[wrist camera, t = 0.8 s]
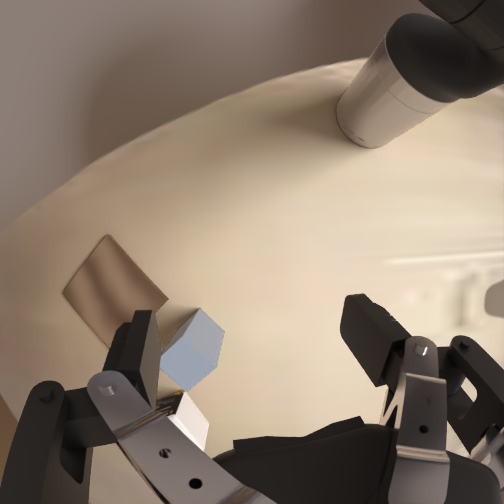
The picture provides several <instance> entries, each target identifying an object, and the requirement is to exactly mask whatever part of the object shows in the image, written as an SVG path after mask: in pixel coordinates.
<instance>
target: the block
mask: <svg viewBox="0 0 504 504" xmlns="http://www.w3.org/2000/svg"><path fill="white" fill-rule="evenodd" d="M224 333H225V331H224V330H223V329H222V328H221V327H219V326H218V325H217V324H216V323H215V322H214V321H213V320H212V319H211V318H210V317H209V316H208V315H207V314H206V313H205V312H204V311H203V310H202V309H201V308H200V309H199V310H198V311H197V312H196V313H195V314H194V315H193V316H191V317H190V318H189V319H188V320H187V321H186V322H185V323H184V324H183V325H182V326H181V327H180V328H179V329H178V330H177V332H176V333H175V334H174V336H173V337H172V339H171V340H170V341H169V343H168V344H167V346H166V347H165V348H164V350H163V351H162V353H161V360H160V369H161V370H162V371H163V372H164V373H166V374H167V375H168V376H169V377H170V378H171V379H172V380H173V381H174V382H176V383H177V384H178V385H179V386H180V387H181V388H182V389H184V390H185V391H186V392H188V391H189V390H190V389H191V388H193V387H194V386H195V385H196V384H197V383H199V382H200V381H201V380H202V379H203V378H205V377H206V376H207V375H208V374H209V373H210V372H212V371H213V370H214V369H215V368H216V367H217V363H218V359H219V354H220V350H221V346H222V341H223V337H224Z"/></svg>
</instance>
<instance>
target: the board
mask: <svg viewBox="0 0 504 504" xmlns="http://www.w3.org/2000/svg"><path fill="white" fill-rule="evenodd" d="M62 294H63V295H64V296H65V297H66V299H67V300H68V301H69V303H70V304H71V305H72V306H73V307H74V309H75V310H76V311H77V312H78V314H79V315H80V316H81V317H82V318H83V319H84V321H85V322H86V323H87V324H88V325H89V326H90V328H91V329H92V330H93V331H94V332H95V333H96V334H97V335H98V336H99V338H100V339H101V340H102V341H103V342H104V343H105V344H106V345H107V346H108V347H109V348H110V347H111V343H112V340H113V338H114V335H115V332H116V330H117V329H118V328H119V327H120V326H121V325H122V324H123V323H124V322H132V319H133V315H134V312H135V310H150V309H153V310H154V311H155V313H156V312H157V311H158V310H159V309H160V307H161V306H162V305H163V304H164V303H165V302H166V301H167V300H168V298H167V297H166V296H165V295H164V294H163V293H162V291H161V290H160V289H159V288H158V287H157V286H156V285H155V284H154V283H153V282H152V281H151V280H150V279H149V278H148V277H147V276H146V275H145V273H144V272H143V271H142V270H141V269H140V268H139V267H138V266H137V265H136V264H135V262H134V261H133V260H132V259H131V258H130V257H129V256H128V255H127V254H126V252H125V251H124V250H123V249H122V248H121V247H120V246H119V244H118V243H117V242H116V241H115V240H114V239H113V237H112V236H111V235H106V237H105V238H104V239H103V240H102V242H101V243H100V244H99V245H98V246H97V248H96V249H95V250H94V251H93V253H92V254H91V255H90V257H89V258H88V259H87V260H86V262H85V263H84V264H83V266H82V267H81V268H80V270H79V271H78V272H77V274H76V275H75V276H74V278H73V279H72V280H71V282H70V283H69V285H68V286H67V287H66V289H65V290H64V292H63V293H62Z"/></svg>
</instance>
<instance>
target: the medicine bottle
mask: <svg viewBox="0 0 504 504" xmlns="http://www.w3.org/2000/svg"><path fill="white" fill-rule="evenodd" d="M158 411H161V412H163V413H164V414H165V415H166V416H167V417H168V418H169V419H170V420H171V421H172V422H173V423H174V424H175V425H176V426H177V427H178V428H179V429H180V430H181V431H182V432H183V433H184V434H185V435H186V436H187V437H188V438H189V439H190V440H191V441H192V442H193V443H194V444H196V445H197V446H198V447H199V448H200V449H201V450H202V451H204V447H205V442H206V437H207V432H208V427H209V422H208V421H207V420H206V418H205V417H204V416H203V414H202V413H201V412H200V410H199V409H198V408H197V406H196V405H195V404H194V402H193V401H192V399H191V398H190V397H189V395H188V394H187V392H186V391H185V390H182V391H180V392H177V393H175V394H172V395H170V396H167V397H164V398H162V399H159V400H156V409H155V412H158Z"/></svg>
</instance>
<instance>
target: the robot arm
mask: <svg viewBox="0 0 504 504" xmlns="http://www.w3.org/2000/svg"><path fill="white" fill-rule="evenodd" d="M419 1H420V2H421V3H422V4H423V5H425V6H426V7H427V8H429V9H430V10H431V11H432V12H434V13H435V14H436V15H438V16H439V17H441V18H442V19H443V20H445V21H443V20H440V19H437V18H435V17H432V16H428V15H425V14H419V13H410V14H406V15H403V16H401V17H400V18H398V19H397V20H396V21H395V23H394V24H393V25H392V27H391V28H390V29H389V31H388V32H387V33H386V35H385V37H384V38H383V39H382V41H381V42H380V43H379V45H378V46H377V48H376V49H375V50H374V52H373V53H372V55H371V56H370V57H369V59H368V60H367V62H366V63H365V64H364V66H363V67H362V69H361V70H360V71H359V73H358V74H357V76H356V77H355V79H354V80H353V81H352V83H351V84H350V86H349V87H348V88H347V90H346V91H345V93H344V94H343V96H342V97H341V98H340V100H339V101H338V104H337V108H336V115H337V120H338V123H339V126H340V127H341V129H342V131H343V132H344V133H345V134H346V136H347V137H348V138H350V139H351V140H352V141H353V142H355V143H357V144H358V145H361V146H364V147H368V148H378V147H381V146H383V145H385V144H387V143H388V142H390V141H391V140H393V139H395V138H397V137H398V136H400V135H401V134H403V133H405V132H406V131H408V130H409V129H411V128H413V127H414V126H416V125H418V124H419V123H421V122H422V121H424V120H426V119H427V118H429V117H431V116H432V115H434V114H435V113H437V112H439V111H440V110H442V109H443V108H445V107H447V106H448V105H450V104H452V103H453V102H455V101H456V100H458V99H460V98H464V99H465V98H473V97H476V96H478V95H480V94H482V93H484V92H486V91H488V90H490V89H493V88H495V87H497V86H499V85H502V84H504V0H419ZM340 333H341V336H342V339H343V340H344V342H345V343H346V344H347V346H348V347H349V349H350V350H351V352H352V353H353V355H354V356H355V358H356V359H357V360H358V362H359V363H360V365H361V366H362V368H363V369H364V371H365V372H366V374H367V375H368V377H369V378H370V380H371V381H372V382H373V384H374V385H375V387H379V386H382V385H385V384H387V386H388V388H387V390H386V393H385V398H384V403H383V408H382V412H381V417H380V421H379V424H364V422H363V420H362V418H361V417H360V416H358V417H354V418H350V419H347V420H343V421H339V422H335V423H332V424H330V425H328V426H326V427H324V428H322V429H320V430H317V431H315V432H313V433H311V434H309V435H307V436H304V437H275V436H264V437H257V438H248V439H239V440H233V448H234V449H232V450H229V451H226V452H224V453H222V454H219V455H218V456H216V457H214V458H212V459H211V458H210V457H209V456H208V455H207V454H205V453H204V452H203V451H202V450H201V449H200V448H199V447H198V446H197V445H196V444H194V443H193V442H192V441H191V440H190V439H189V438H188V437H187V436H186V435H185V434H184V433H183V432H182V431H181V430H180V429H179V428H178V427H177V426H176V425H175V424H174V423H173V422H172V421H171V420H170V419H169V418H168V417H167V416H166V415H165V414H164V413H163V412H161V411H158V412H155V409H156V397H157V387H158V377H159V368H160V360H161V343H160V337H159V332H158V327H157V321H156V316H155V311H154V310H153V309H150V310H135V312H134V315H133V319H132V322H124V323H123V324H122V325H121V326H120V327H119V328H118V329H117V330H116V332H115V335H114V338H113V340H112V343H111V347H110V349H109V352H108V355H107V358H106V361H105V364H104V367H103V370H102V372H100V373H97V374H95V375H94V376H93V377H92V378H91V379H90V380H89V382H88V384H87V387H84V388H80V389H74V390H68V391H65V390H64V388H63V386H62V385H61V384H60V383H58V382H56V381H43V382H41V383H39V384H37V385H36V386H34V387H33V389H32V390H31V392H30V394H29V396H28V399H27V401H26V404H25V406H24V409H23V412H22V415H21V417H20V420H19V423H18V426H17V429H16V432H15V435H14V438H13V441H12V445H11V448H10V451H9V455H8V458H7V462H6V466H5V470H4V474H3V479H2V483H1V487H0V504H88V500H89V485H90V473H91V463H92V455H93V447H96V446H101V445H107V444H112V443H116V444H117V446H118V447H119V449H120V450H121V451H122V453H123V454H124V456H125V457H126V458H127V460H128V461H129V462H130V464H131V465H132V466H133V467H134V469H135V470H136V471H137V472H138V474H139V475H140V476H141V477H142V479H143V480H144V481H145V483H146V484H147V485H148V486H149V488H150V489H151V490H152V491H153V492H154V494H155V495H156V496H157V497H158V498H159V499H160V500H161V501H162V502H163V504H502V499H501V491H504V370H503V369H502V368H501V367H500V366H499V364H498V363H497V362H496V361H495V360H494V359H493V358H492V357H491V356H490V355H489V354H488V353H487V352H486V351H485V350H484V349H483V348H482V347H481V346H480V345H479V344H478V343H477V342H475V341H474V340H473V339H471V338H469V337H467V336H462V335H459V336H455V337H454V338H453V339H452V341H451V343H450V346H449V347H436V345H435V344H434V342H432V341H431V340H429V339H428V338H425V337H421V336H413V337H412V336H411V335H410V334H409V333H408V332H407V331H406V330H405V329H404V328H403V327H402V325H401V324H400V323H399V322H398V321H396V319H395V318H394V317H393V316H390V313H389V312H388V311H387V310H386V309H385V308H383V307H381V306H380V305H378V304H376V303H373V302H372V301H371V300H370V299H369V298H368V297H367V296H366V295H365V294H363V293H362V294H354V295H348V296H347V297H346V298H345V302H344V308H343V313H342V318H341V323H340ZM466 377H467V378H468V380H469V381H470V382H471V383H472V384H473V386H474V387H475V388H476V390H477V398H476V400H475V402H474V403H473V401H472V400H471V399H470V397H469V396H468V395H467V394H466V392H465V391H464V390H463V389H462V387H461V385H462V383H463V381H464V380H465V378H466ZM447 421H448V422H449V424H450V425H451V427H452V428H453V430H454V431H455V433H456V434H457V436H458V437H459V439H460V440H461V442H462V443H463V445H464V446H465V448H466V450H467V451H468V453H469V454H470V456H471V459H469V458H466V457H463V456H460V455H457V454H455V453H452V452H449V451H447V450H446V435H447Z"/></svg>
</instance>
